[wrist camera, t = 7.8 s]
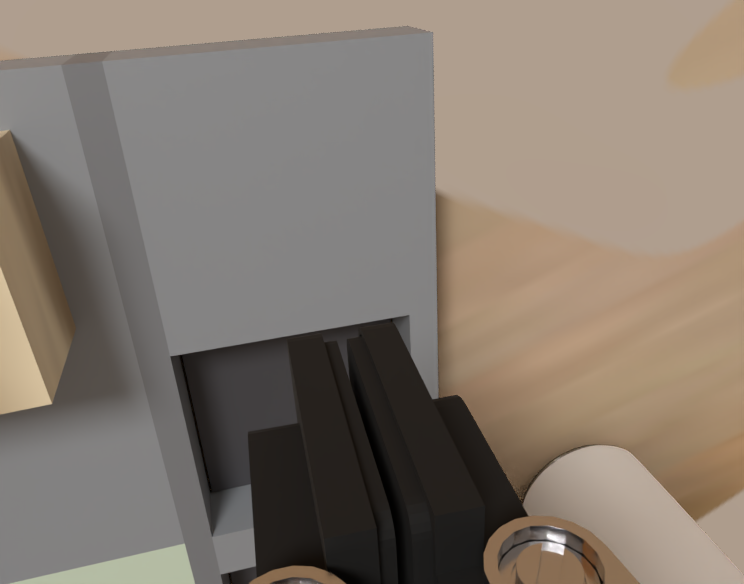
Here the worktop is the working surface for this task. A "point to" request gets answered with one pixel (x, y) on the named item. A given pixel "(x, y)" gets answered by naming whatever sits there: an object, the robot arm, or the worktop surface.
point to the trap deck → (205, 279)
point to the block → (27, 296)
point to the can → (629, 516)
